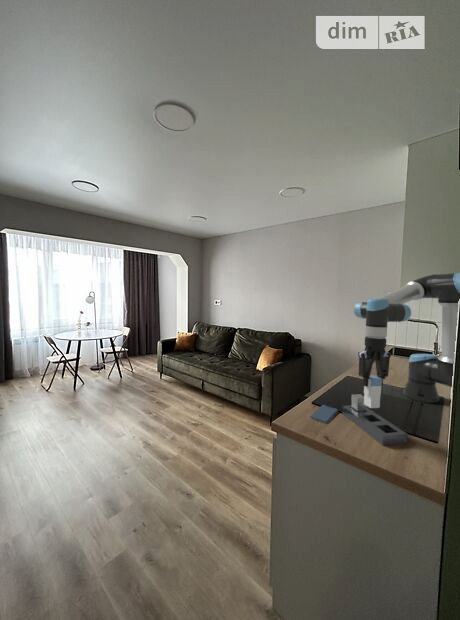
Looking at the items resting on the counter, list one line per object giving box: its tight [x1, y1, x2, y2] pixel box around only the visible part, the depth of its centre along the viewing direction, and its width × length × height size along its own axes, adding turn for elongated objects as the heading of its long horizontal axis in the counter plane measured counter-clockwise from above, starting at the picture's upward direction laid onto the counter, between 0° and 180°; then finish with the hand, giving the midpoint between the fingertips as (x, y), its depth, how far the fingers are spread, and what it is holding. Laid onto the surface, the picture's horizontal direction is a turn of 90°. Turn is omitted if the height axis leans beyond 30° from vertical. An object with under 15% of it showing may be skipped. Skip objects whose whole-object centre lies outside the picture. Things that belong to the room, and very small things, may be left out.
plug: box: [363, 374, 382, 409], centre depth 101 cm, size 4×4×12 cm
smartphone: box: [309, 404, 339, 424], centre depth 111 cm, size 8×2×15 cm
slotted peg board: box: [341, 393, 408, 446], centre depth 102 cm, size 10×24×9 cm, turn 9°
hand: (372, 393), depth 101 cm, fingers closed on plug, 4 cm apart
